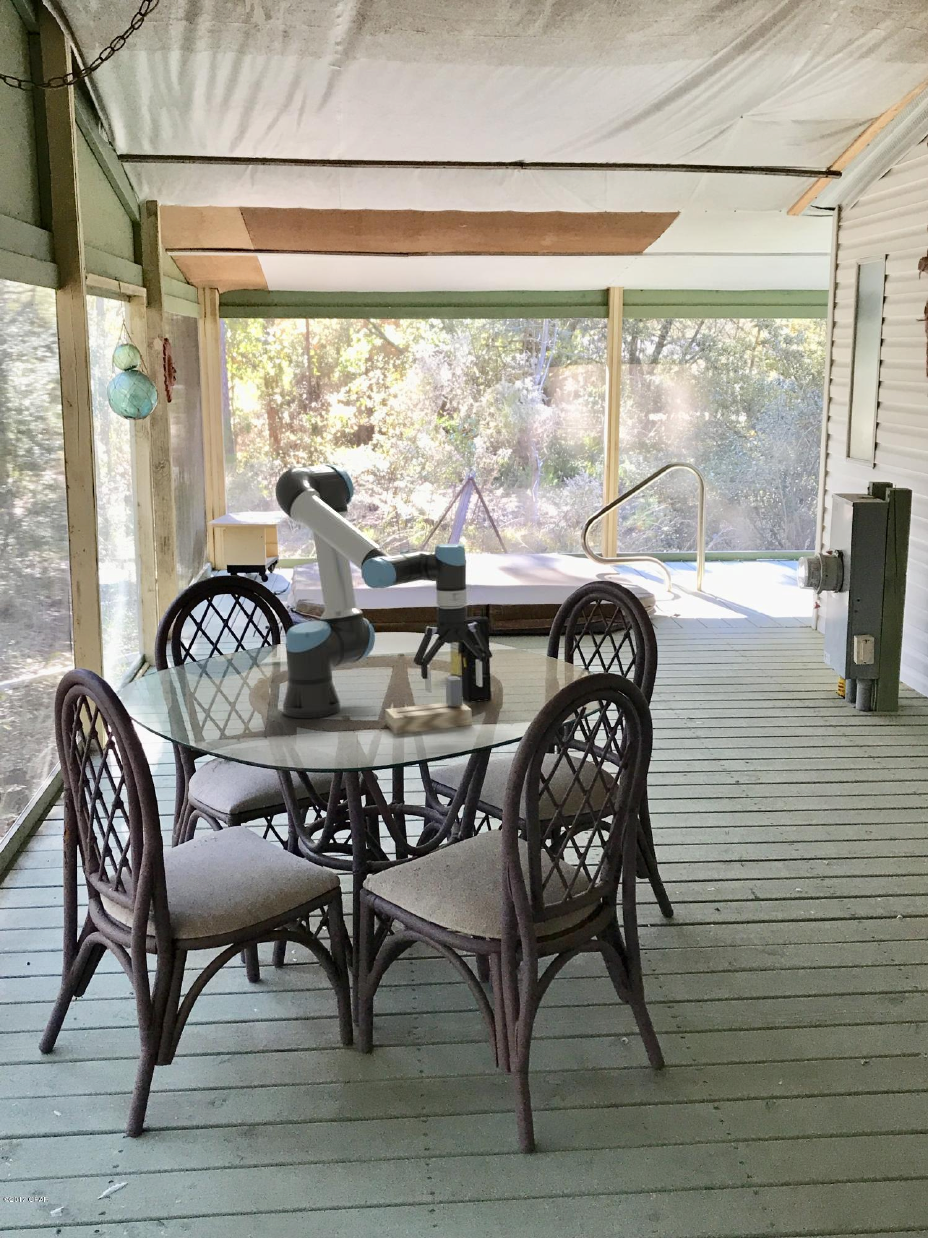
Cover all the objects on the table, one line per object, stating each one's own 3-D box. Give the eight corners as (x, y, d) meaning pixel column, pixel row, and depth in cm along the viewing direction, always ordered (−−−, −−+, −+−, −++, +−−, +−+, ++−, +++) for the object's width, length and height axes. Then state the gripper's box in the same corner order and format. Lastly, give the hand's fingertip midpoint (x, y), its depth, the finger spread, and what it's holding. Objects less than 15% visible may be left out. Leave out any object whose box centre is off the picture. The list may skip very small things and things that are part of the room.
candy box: (473, 669, 351) (471, 619, 348) (482, 671, 348) (480, 621, 345) (450, 674, 345) (449, 623, 343) (459, 676, 342) (457, 625, 339)
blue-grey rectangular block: (451, 707, 291) (450, 680, 289) (446, 703, 294) (445, 677, 293) (462, 706, 292) (461, 679, 290) (457, 702, 295) (456, 675, 294)
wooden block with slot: (395, 733, 284) (394, 717, 284) (386, 724, 293) (385, 708, 292) (471, 724, 291) (471, 708, 290) (460, 716, 299) (460, 700, 298)
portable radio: (466, 703, 311) (463, 612, 306) (457, 698, 316) (455, 609, 312) (492, 700, 314) (490, 609, 309) (483, 695, 319) (481, 606, 315)
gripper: (407, 612, 281) (410, 696, 285) (503, 604, 289) (505, 686, 293) (399, 607, 288) (402, 690, 292) (493, 599, 296) (495, 680, 300)
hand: (454, 688), depth 292 cm, fingers open, 13 cm apart
